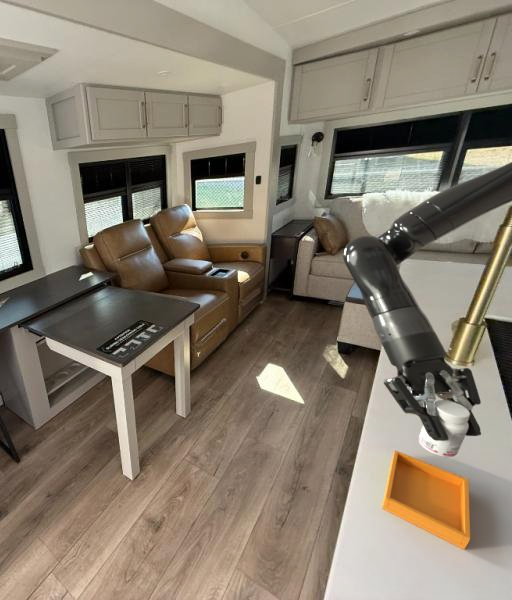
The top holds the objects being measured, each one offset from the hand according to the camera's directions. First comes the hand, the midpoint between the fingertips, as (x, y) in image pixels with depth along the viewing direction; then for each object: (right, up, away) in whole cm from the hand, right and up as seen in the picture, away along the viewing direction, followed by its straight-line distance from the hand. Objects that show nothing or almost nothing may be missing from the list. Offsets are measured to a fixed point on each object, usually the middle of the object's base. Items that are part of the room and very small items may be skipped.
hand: (456, 437), depth 51 cm
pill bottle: (0, -3, +3) cm, 5 cm away
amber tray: (+1, -14, +7) cm, 16 cm away
